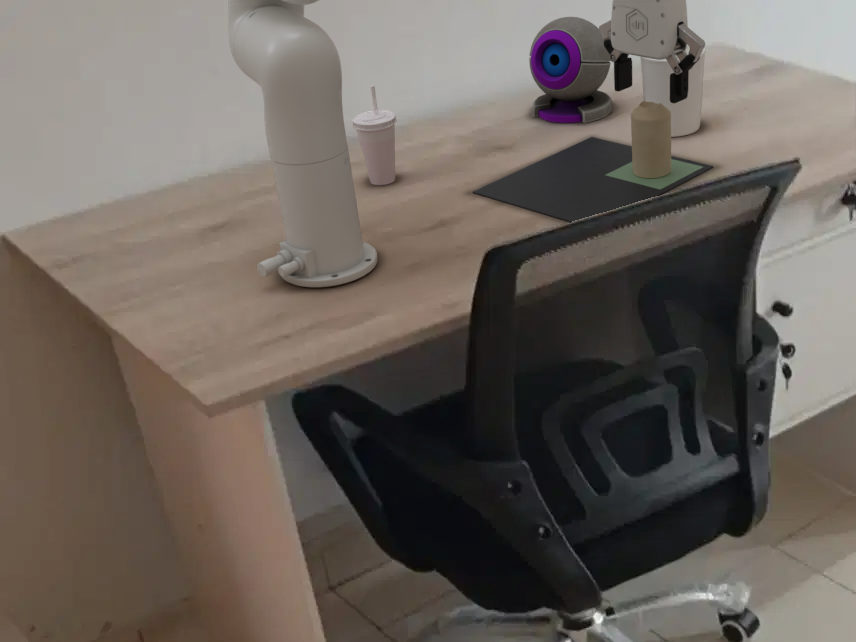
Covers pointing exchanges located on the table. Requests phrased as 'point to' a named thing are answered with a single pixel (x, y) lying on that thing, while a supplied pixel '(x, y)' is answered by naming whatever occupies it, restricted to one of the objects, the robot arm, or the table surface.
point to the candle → (651, 140)
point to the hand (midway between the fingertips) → (650, 94)
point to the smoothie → (377, 142)
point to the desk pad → (586, 181)
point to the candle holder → (658, 91)
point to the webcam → (570, 71)
